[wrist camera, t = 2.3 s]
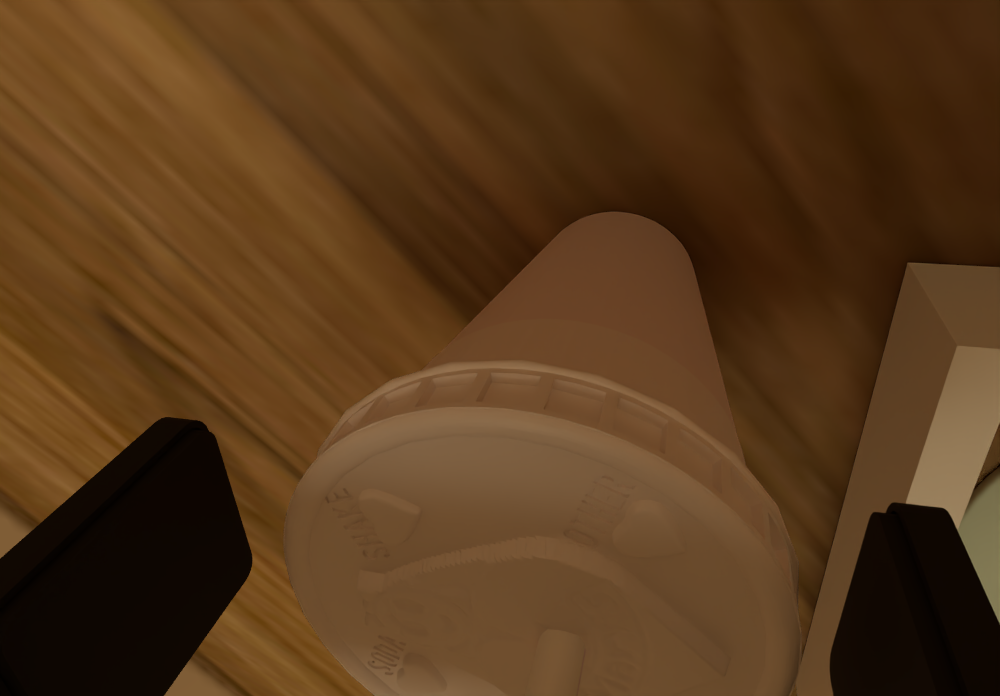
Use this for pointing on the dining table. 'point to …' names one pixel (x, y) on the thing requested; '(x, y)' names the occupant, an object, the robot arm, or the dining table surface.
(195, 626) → the robot arm
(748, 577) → the smoothie
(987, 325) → the white square frame
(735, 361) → the dining table surface
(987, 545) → the pale green round spot
